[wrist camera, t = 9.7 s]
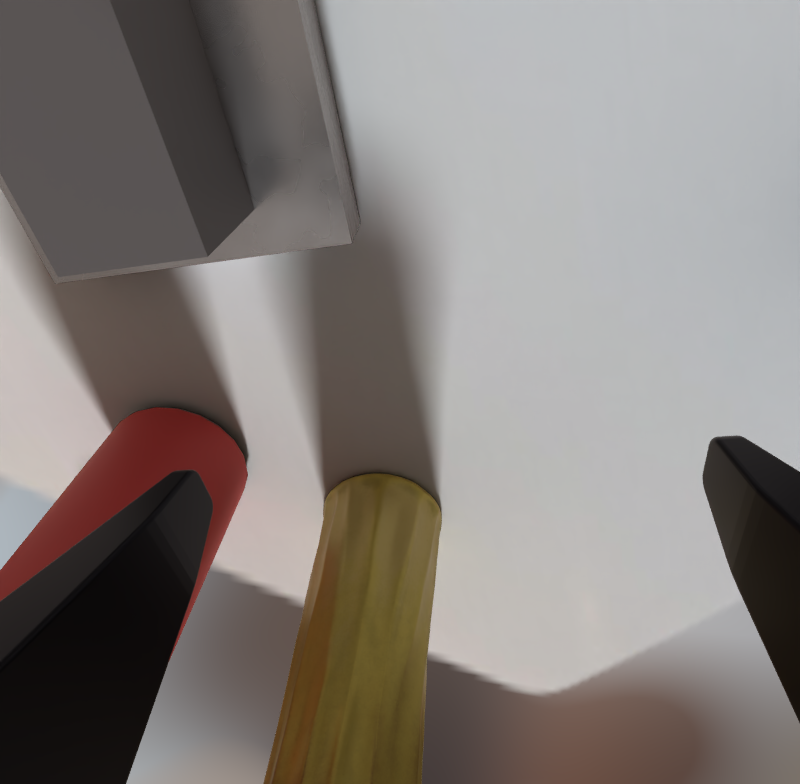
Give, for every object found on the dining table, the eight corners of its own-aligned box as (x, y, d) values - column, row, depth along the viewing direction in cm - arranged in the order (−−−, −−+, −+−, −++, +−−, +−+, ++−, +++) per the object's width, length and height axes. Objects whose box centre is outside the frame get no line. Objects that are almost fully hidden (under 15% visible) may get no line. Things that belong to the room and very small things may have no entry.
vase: (411, 564, 30) (383, 910, 19) (308, 528, 29) (211, 871, 18) (462, 498, 27) (468, 871, 15) (348, 453, 26) (261, 819, 14)
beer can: (109, 387, 25) (-117, 637, 15) (252, 414, 25) (121, 678, 15) (127, 487, 28) (-44, 737, 19) (251, 509, 29) (146, 768, 19)
